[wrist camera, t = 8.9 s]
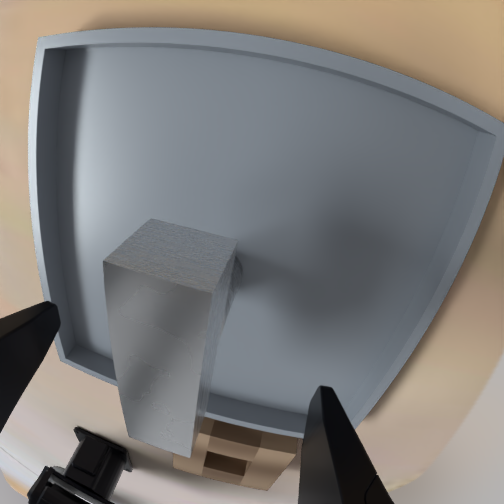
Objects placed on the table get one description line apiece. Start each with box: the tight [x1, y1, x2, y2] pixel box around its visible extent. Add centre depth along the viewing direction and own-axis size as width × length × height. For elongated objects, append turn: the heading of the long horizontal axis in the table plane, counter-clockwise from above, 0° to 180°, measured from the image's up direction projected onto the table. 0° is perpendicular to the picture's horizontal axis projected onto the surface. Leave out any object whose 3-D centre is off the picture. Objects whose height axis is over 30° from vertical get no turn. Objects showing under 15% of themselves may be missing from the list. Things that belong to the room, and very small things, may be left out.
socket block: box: [173, 416, 298, 491], centre depth 21 cm, size 8×8×2 cm
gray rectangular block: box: [103, 218, 243, 458], centre depth 11 cm, size 8×2×7 cm, turn 169°
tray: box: [28, 27, 504, 438], centre depth 14 cm, size 19×19×2 cm
